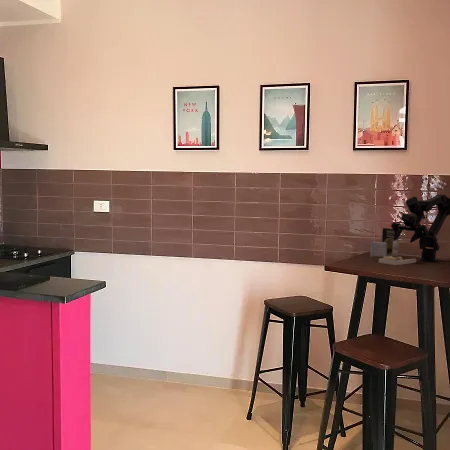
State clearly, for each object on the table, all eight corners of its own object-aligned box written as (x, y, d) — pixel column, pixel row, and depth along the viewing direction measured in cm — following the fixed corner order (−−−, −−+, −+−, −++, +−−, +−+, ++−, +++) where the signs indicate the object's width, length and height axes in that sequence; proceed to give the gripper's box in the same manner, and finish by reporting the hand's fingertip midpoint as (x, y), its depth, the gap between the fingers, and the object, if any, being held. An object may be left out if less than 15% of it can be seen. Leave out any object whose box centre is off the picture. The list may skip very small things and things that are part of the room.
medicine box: (384, 257, 293) (385, 242, 292) (386, 259, 289) (387, 243, 288) (370, 257, 294) (371, 241, 293) (371, 258, 289) (372, 242, 289)
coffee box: (380, 256, 298) (382, 228, 296) (380, 255, 304) (381, 227, 303) (397, 257, 296) (399, 229, 294) (396, 256, 302) (398, 228, 301)
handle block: (390, 261, 269) (392, 240, 268) (402, 263, 264) (403, 241, 263) (382, 262, 264) (384, 240, 263) (394, 264, 259) (395, 242, 259)
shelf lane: (398, 262, 277) (399, 256, 277) (416, 265, 269) (416, 258, 269) (378, 264, 265) (378, 258, 265) (395, 267, 257) (396, 261, 257)
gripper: (394, 207, 277) (380, 228, 271) (427, 209, 263) (413, 231, 257) (401, 221, 283) (388, 243, 277) (434, 224, 269) (421, 247, 263)
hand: (402, 241), depth 268 cm, fingers open, 9 cm apart
